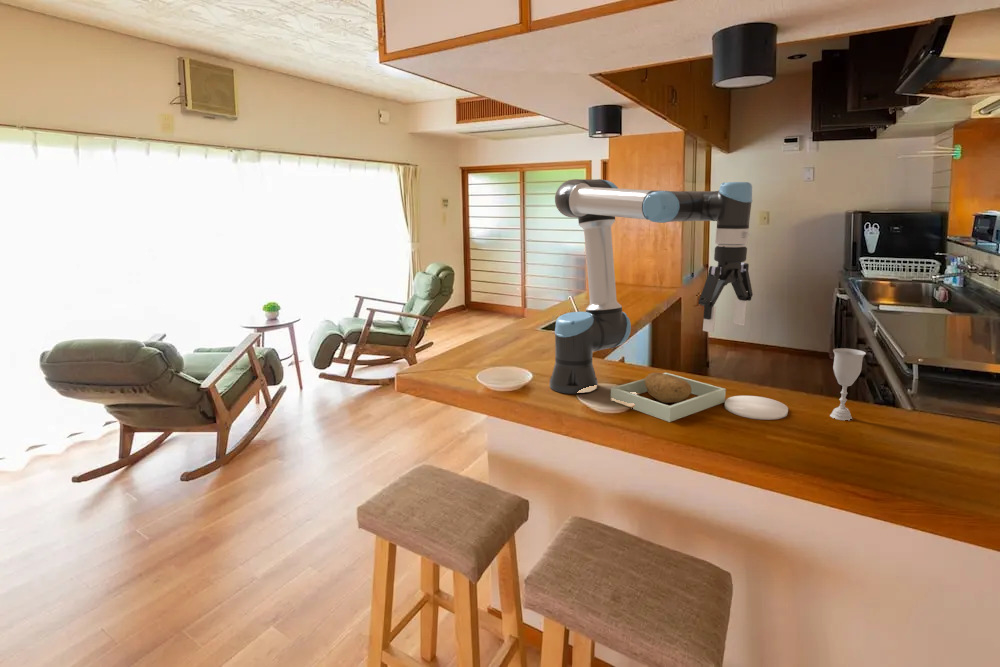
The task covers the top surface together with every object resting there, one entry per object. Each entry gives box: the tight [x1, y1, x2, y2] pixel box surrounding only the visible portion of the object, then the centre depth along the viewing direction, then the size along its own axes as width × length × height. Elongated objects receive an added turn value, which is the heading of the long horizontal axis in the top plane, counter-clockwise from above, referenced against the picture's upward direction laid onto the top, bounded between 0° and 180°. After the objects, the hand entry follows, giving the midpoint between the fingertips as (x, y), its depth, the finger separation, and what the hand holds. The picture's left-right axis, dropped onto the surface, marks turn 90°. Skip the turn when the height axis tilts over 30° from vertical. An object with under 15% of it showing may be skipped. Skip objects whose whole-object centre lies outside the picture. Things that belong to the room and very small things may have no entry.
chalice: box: [829, 347, 867, 421], centre depth 144 cm, size 7×7×18 cm
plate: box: [724, 395, 789, 421], centre depth 153 cm, size 16×16×1 cm
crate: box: [610, 372, 727, 423], centre depth 160 cm, size 21×25×4 cm
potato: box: [644, 371, 692, 404], centre depth 159 cm, size 10×14×8 cm
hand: (723, 328), depth 143 cm, fingers open, 13 cm apart
